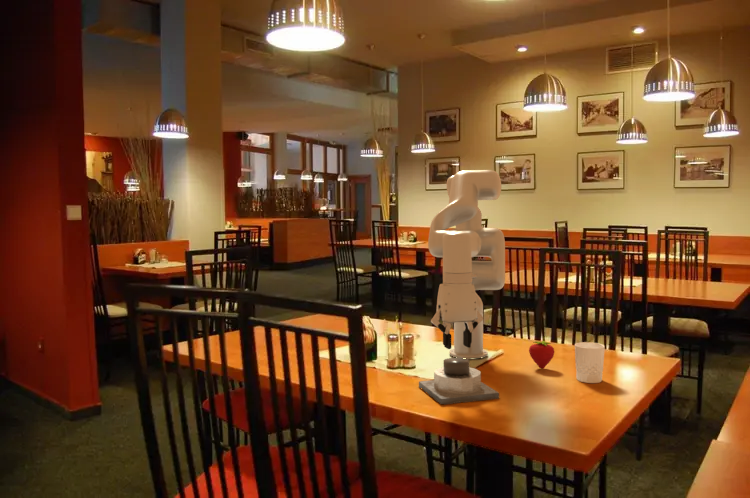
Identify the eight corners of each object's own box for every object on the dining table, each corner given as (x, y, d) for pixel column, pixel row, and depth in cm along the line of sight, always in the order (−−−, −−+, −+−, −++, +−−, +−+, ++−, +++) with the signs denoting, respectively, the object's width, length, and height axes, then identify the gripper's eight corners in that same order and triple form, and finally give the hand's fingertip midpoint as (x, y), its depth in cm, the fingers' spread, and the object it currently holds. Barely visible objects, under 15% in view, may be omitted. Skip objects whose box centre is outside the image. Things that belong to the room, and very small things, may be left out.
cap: (439, 384, 160) (439, 359, 160) (462, 382, 162) (462, 356, 162) (450, 391, 154) (449, 365, 154) (473, 389, 156) (473, 362, 156)
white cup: (569, 380, 168) (570, 345, 168) (581, 374, 174) (582, 340, 173) (597, 385, 163) (597, 349, 162) (608, 379, 169) (609, 344, 168)
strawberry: (529, 365, 185) (529, 333, 185) (554, 366, 183) (555, 334, 182) (527, 369, 180) (528, 337, 179) (553, 371, 177) (554, 338, 176)
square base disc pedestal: (418, 386, 164) (418, 367, 163) (472, 381, 168) (471, 362, 168) (441, 404, 148) (441, 383, 148) (499, 398, 153) (499, 377, 153)
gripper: (480, 276, 162) (480, 342, 164) (421, 278, 158) (422, 346, 159) (493, 279, 155) (493, 348, 156) (432, 282, 150) (432, 353, 152)
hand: (457, 346), depth 158 cm, fingers open, 4 cm apart
